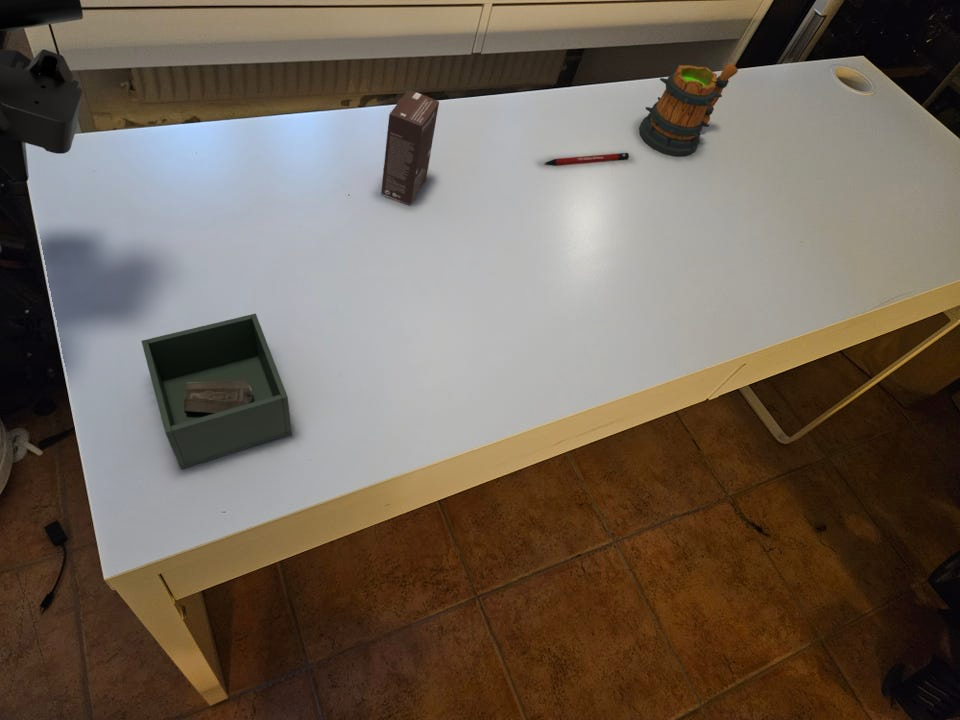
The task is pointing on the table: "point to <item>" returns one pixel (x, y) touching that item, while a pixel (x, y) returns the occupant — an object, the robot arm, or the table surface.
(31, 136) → the robot arm
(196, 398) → the block
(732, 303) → the table surface
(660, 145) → the mug
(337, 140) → the table surface
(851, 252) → the table surface
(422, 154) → the box
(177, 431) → the bin
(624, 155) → the pencil
